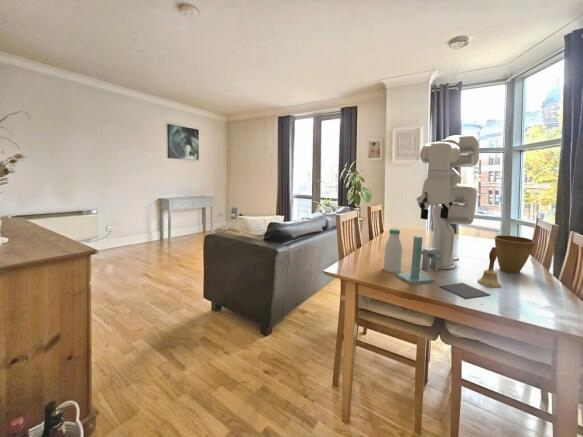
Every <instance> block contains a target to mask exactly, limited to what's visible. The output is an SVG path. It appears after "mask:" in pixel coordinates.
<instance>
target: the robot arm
mask: <svg viewBox="0 0 583 437" xmlns="http://www.w3.org/2000/svg"><path fill="white" fill-rule="evenodd" d="M479 158H480V143H479V138H478V137H477V136H476V135H475V134H465V135H451V136H448V137H447V138H445V139H442V140H438V141H434V142H428V143H426V144H424V145H423V146H422V148H421V150H420V153H419V159H420V161H421V162H422V163H423V164H427V176H426V177H427V178H425V180H424V182H423V186H422V190H421V195H420V196H418V197H416V201H417V205H418V207H419V209H420V219H421V220H428V219H429V207H430V205H434V207H433V209H432V217H433V218H432V220H433V229H432V231H433V232H432V240H431V248H437V249H440V260H439V266H438V269H440V270H453V269H455V268H456V264H455V262H459V261H460V258H459V257H453V253H454V244H455V243H454V242H455V235H456V234H455V230H454V228H453V227H452V225H451V224H453V225H465V226H468V225H471V224H472V223H473V222H474V219H475V215H476V214H475V213H476V206H477V204H476V203H477V198H478V196H477V195H478V190H477V189H476V187H475V185H472V184H471V185H470V184H461V182H462V175H461V174H460V173H459V172H458V171H457V170H456V169H455V168H472V167H475V166H477V165H478V163H479V160H480V159H479ZM430 267H431V259H430Z"/></svg>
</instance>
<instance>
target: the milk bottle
mask: <svg viewBox="0 0 583 437" xmlns="http://www.w3.org/2000/svg"><path fill="white" fill-rule="evenodd" d="M388 234H389V237H388V239H387V241H386V243H385V247H384V256H383V257H384V258H383V261H384V262H383V270H384V271H385V272H386V273H393V274H394V273H395V274H399V273H400V272H401V269H402V260H403V259H402V256H403V255H402V254H403V246H402V242H401V240H400V235H401V230H400V229H397V228H391V229H389V233H388Z"/></svg>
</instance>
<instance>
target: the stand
mask: <svg viewBox="0 0 583 437" xmlns="http://www.w3.org/2000/svg"><path fill="white" fill-rule="evenodd" d="M412 242H413V244H412V245H413V246H412V254H411V256H412V257H411V266H410V267H411V269H410V270H411V271H410V272H403V273H400V272H399V273H395V277H397V278H399V279H401V280H402V281H405V282H406V283H408V284H410V285H417V284H426V283H434V282H435V280H436V279H435V278H433V277H430V276H428V275H426V274H425V273H422V272H420V269H421V261H422V260H421V259H422V256H423V249H422V248H423V237H422V236H419V235H417V236H413V241H412ZM431 258H433V259H436V260H440V256H438V255H431V256H430V259H431Z"/></svg>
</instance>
